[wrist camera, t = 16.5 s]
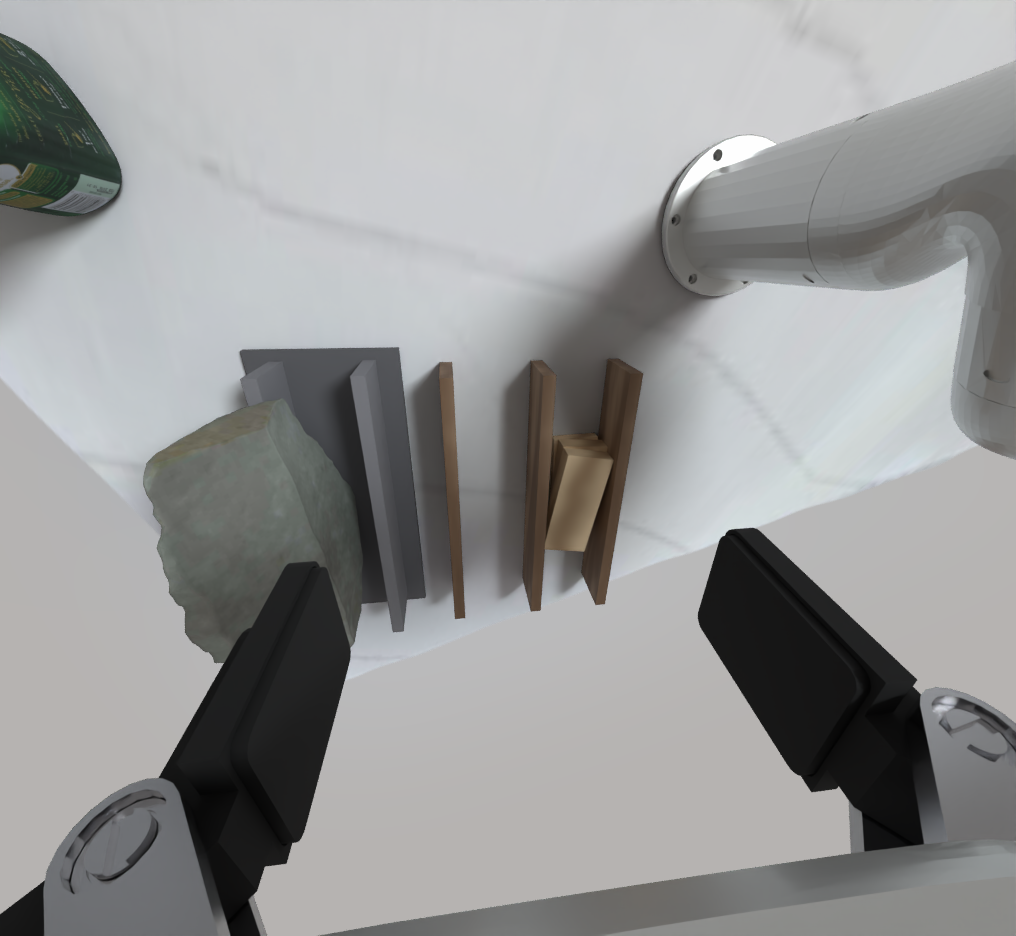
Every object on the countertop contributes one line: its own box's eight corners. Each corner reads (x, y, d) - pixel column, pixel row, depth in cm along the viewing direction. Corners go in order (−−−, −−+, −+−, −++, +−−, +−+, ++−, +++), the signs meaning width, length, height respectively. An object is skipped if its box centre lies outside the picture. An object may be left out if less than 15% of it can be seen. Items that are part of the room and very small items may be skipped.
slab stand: (398, 347, 39) (391, 363, 33) (425, 594, 54) (423, 635, 48) (242, 349, 37) (206, 367, 32) (314, 604, 52) (298, 648, 46)
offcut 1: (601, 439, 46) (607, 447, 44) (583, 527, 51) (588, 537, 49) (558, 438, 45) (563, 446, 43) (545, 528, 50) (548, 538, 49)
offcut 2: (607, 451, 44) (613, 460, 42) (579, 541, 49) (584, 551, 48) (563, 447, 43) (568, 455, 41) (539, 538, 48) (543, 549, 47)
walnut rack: (618, 358, 43) (643, 373, 38) (589, 571, 56) (604, 604, 51) (439, 362, 40) (439, 378, 35) (453, 583, 54) (455, 619, 49)
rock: (401, 589, 51) (296, 764, 33) (356, 583, 52) (232, 750, 35) (351, 377, 38) (142, 482, 21) (293, 377, 40) (52, 476, 22)
